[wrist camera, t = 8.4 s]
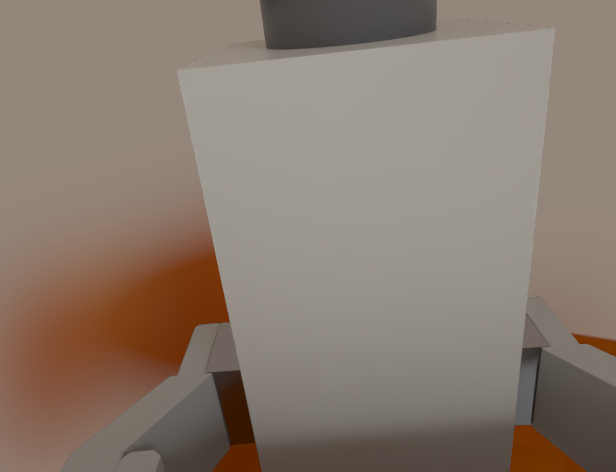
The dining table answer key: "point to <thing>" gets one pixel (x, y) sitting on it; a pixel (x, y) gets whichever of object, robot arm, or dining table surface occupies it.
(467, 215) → the white square bottle
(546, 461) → the dining table surface
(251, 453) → the dining table surface
